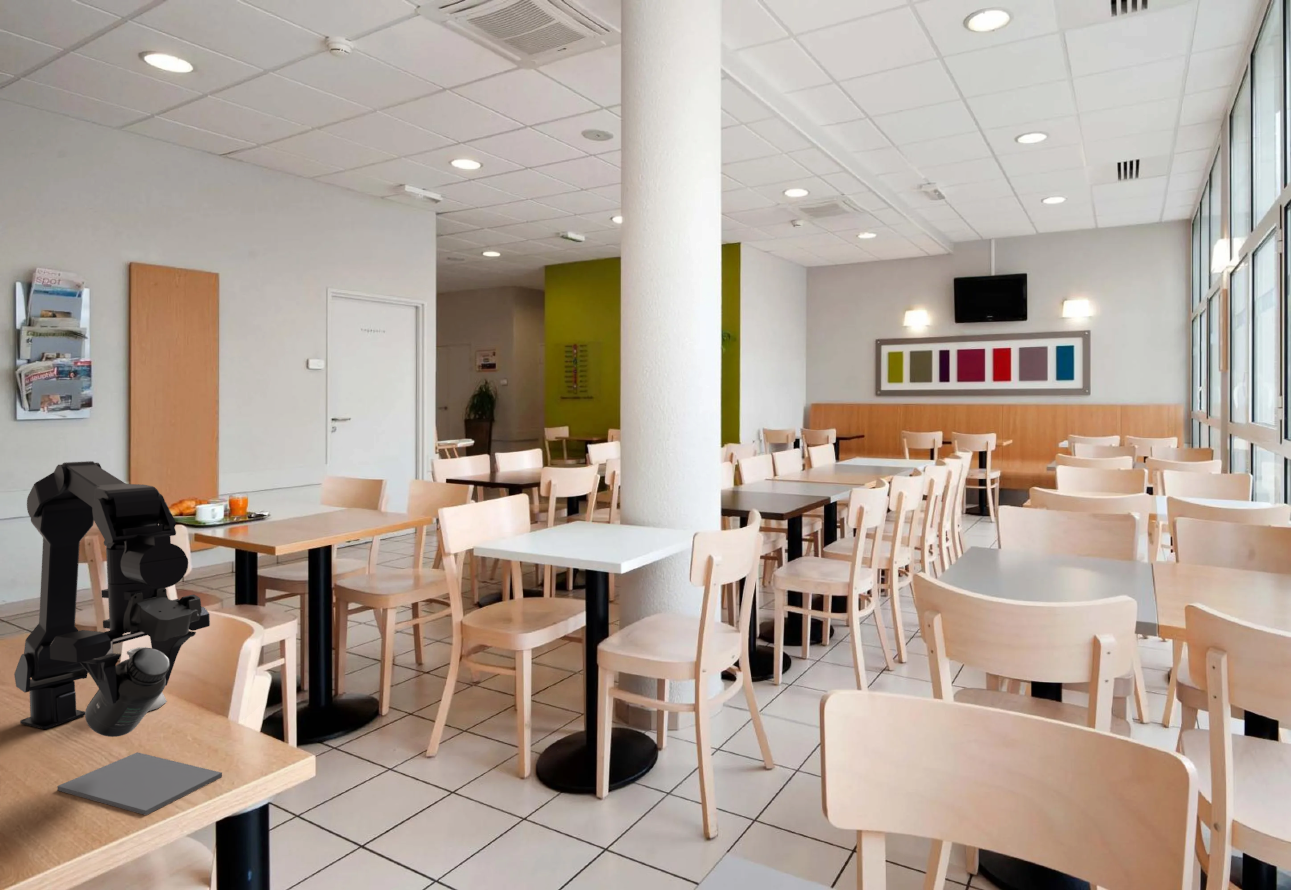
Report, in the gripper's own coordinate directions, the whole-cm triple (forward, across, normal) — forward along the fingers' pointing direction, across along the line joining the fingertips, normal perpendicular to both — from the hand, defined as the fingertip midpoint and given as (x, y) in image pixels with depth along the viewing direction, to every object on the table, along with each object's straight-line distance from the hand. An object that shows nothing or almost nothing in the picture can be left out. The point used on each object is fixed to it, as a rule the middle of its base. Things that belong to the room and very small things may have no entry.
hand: (138, 694), depth 107 cm
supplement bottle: (+4, 0, +6) cm, 7 cm away
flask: (+11, +18, +26) cm, 33 cm away
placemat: (+12, 0, 0) cm, 12 cm away
